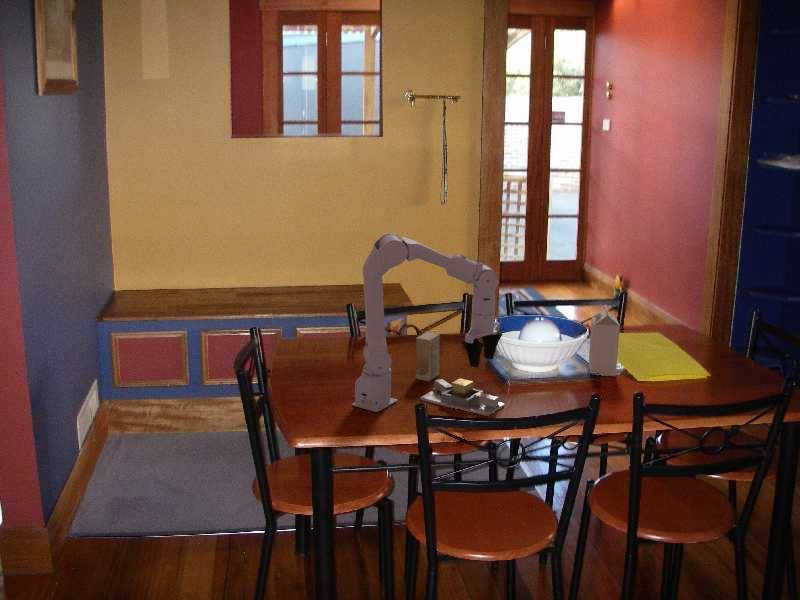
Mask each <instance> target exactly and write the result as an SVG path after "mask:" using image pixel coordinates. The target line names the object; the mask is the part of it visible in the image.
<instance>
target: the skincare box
mask: <svg viewBox="0 0 800 600" xmlns="http://www.w3.org/2000/svg"><path fill="white" fill-rule="evenodd" d="M440 337H441V336H440V334H438V333H433V332H429V331H426V332H424V333H422V334H421V335H419V336H417V337H416V339H415V347H416V348H415V351H416V352H415V379H416V380H420V381H425V382H431V381H432V380H433V379H435V378H437V377H438V376H439V375H440V340H441V339H440Z"/></svg>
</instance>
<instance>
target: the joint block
mask: <svg viewBox="0 0 800 600" xmlns="http://www.w3.org/2000/svg"><path fill="white" fill-rule="evenodd" d="M451 385H452V395H454V396H458V397H462V398H466V399H467V398H469V397H471V396H472V395H473V389H474V381H473V380H468V379H466V378H465V379H464V378H458V379H456V380H455V381H452V382H451Z"/></svg>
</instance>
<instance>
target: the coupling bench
mask: <svg viewBox="0 0 800 600" xmlns="http://www.w3.org/2000/svg"><path fill="white" fill-rule="evenodd" d="M499 399H500V398H499V396H496V395H495V396H494V395H491V394H487V393H484V390H480V389H477V388H473V395H472V396H471V397H469V398H467V399H466V398H462V397H458V396H454V395H452V383H451V384H450V383H449V382H448V381H446V380H445V379H443V378H441V379H440V378H439V379H435V380H434V387H433V388H432V390H431V391H429V392H427V393H426V394H424V395H422V396H420V401H423V402H427V403H431V404H436V405H438V406H443V407H446V408H450V407H451V409H453V408H455V410H457V409H461V410H465V411H470V412H474V413H478V414H484V415H489V414H490V413H492V412H494V411H496V410H498V409H499V408H501V407H503V406H504V405H506V403H503V402H501V401H499ZM504 407H505V406H504ZM504 407H503V408H504ZM501 409H502V408H501ZM461 410H460V411H461ZM465 411H464V412H465ZM498 411H499V410H498ZM496 412H497V411H496Z"/></svg>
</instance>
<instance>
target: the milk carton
mask: <svg viewBox="0 0 800 600" xmlns="http://www.w3.org/2000/svg"><path fill="white" fill-rule="evenodd" d="M590 323H591V324H590V338H589V351H588V353H589V354H588V365H589V368H590V371H591V372H598V373H599V374H600V375H601V376H603V377H605V376H606V377H616V376H617V369H618V368H617V367H618V357H619V356H618V355H619V354H618V353H619V352H618V351H619V344H620V343H619V342H620V341H619V340H620V328H621V326H620V324H619V321H618V318H616V317H615V316H614V315H613V313H611V312H610V311H609V310H608V308H607V305H606V304H604V308H603V309H601V310H600V311H597V312H595V313H594V315H593V316H592V317H591V322H590ZM589 368H588V369H589ZM590 371H589V372H590ZM601 376H600V377H601Z"/></svg>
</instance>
